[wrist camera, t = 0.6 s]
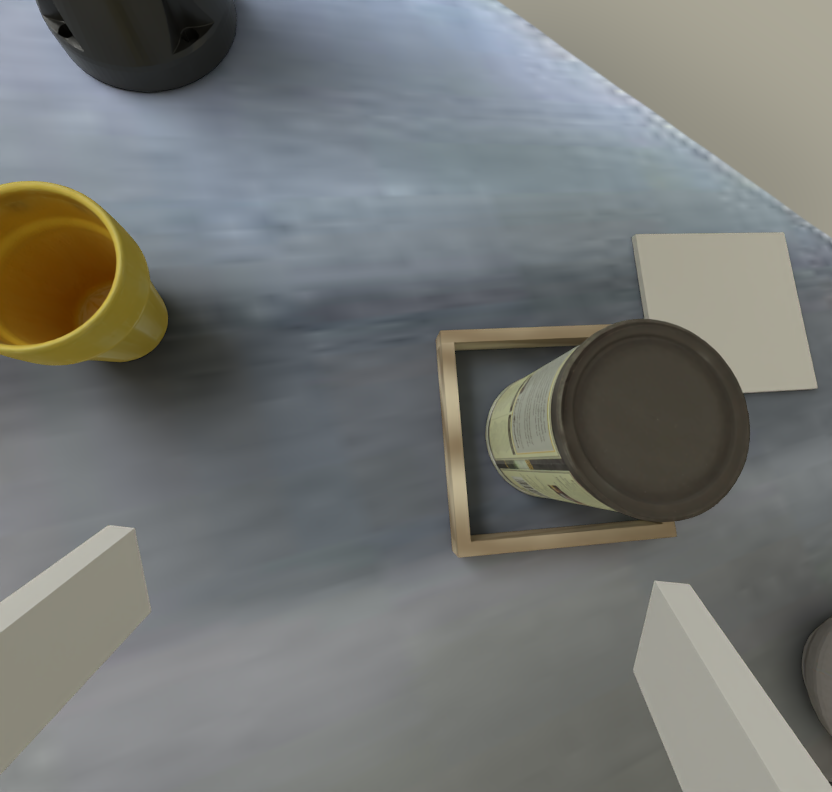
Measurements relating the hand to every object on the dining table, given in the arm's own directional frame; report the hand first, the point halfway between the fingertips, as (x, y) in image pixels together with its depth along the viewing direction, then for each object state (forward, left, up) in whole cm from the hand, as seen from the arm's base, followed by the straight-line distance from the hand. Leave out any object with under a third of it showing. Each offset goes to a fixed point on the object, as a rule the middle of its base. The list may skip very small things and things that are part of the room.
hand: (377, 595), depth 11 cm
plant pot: (-16, -19, -22) cm, 33 cm away
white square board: (-15, +32, -22) cm, 42 cm away
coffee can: (-5, +14, -22) cm, 27 cm away
